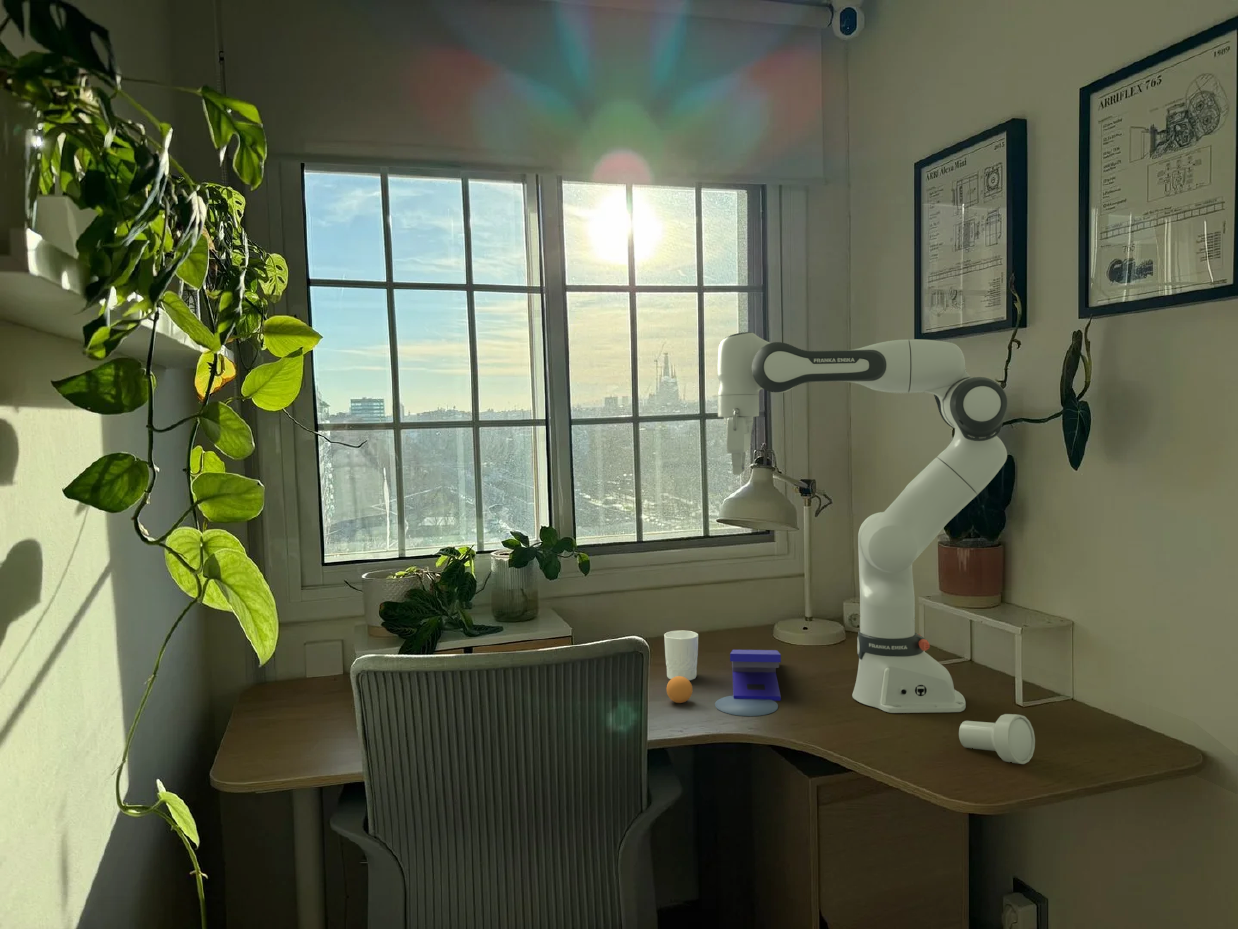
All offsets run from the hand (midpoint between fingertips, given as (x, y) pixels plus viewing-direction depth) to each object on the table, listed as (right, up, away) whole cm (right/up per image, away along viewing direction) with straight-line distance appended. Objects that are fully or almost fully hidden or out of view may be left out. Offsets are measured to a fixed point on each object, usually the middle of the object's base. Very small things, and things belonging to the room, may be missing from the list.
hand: (738, 473), depth 188 cm
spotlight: (+40, -50, -35) cm, 73 cm away
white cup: (-11, -48, +14) cm, 51 cm away
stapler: (+5, -48, +11) cm, 49 cm away
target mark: (+1, -48, -7) cm, 49 cm away
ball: (-13, -46, -4) cm, 48 cm away
